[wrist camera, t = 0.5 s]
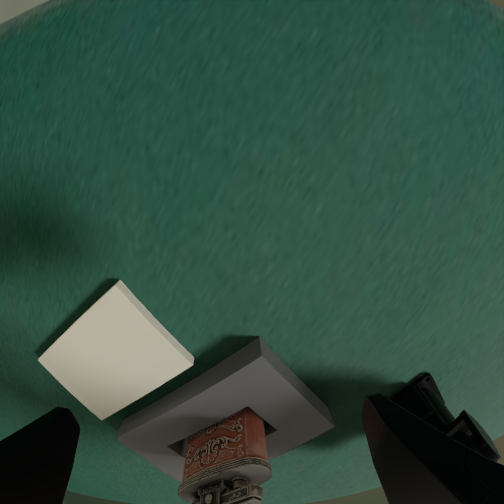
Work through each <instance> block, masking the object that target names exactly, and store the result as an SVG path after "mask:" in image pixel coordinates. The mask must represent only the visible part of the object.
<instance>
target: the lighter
mask: <svg viewBox="0 0 504 504" xmlns="http://www.w3.org/2000/svg"><path fill="white" fill-rule="evenodd" d="M187 439H188V443H187V450H186V457H185V464H184V471H183V478H182V483H181V484H180V485H179V489H178V496H179V497H180V498H182V499H183V500H185V501H188V502H191V503H192V504H260V503H261V502H262V501H263V489H262V487H261V486H259V485H261V484H262V483H264V482H266V481H267V480H269V479H270V478H271V476H272V471H271V465H270V463H269V462H268V459H267V449H266V440H265V430H264V420H263V418H262V417H260V416H259V415H258V414H257V413H256V412H254V411H253V410H252V409H251V408H250V407H248V406H247V407H245V408H243V409H242V410H240V411H238V412H236V413H234V414H232V415H230V416H229V417H227V418H225V419H223V420H221V421H219V422H217V423H215V424H213V425H211V426H209V427H207V428H205V429H203V430H201V431H199V432H197V433H195V434H193V435H190V436H188V437H187Z"/></svg>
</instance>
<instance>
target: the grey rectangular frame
mask: <svg viewBox="0 0 504 504" xmlns="http://www.w3.org/2000/svg"><path fill="white" fill-rule="evenodd" d="M247 406H248V407H250V408H251V409H252V410H253V411H254V412H256V413H257V414H258V415H259V416H260V417H262V418H263V420H264V430H265V440H266V449H267V459H268V461H269V460H271V459H273V458H275V457H277V456H280V455H282V454H284V453H286V452H288V451H290V450H292V449H294V448H296V447H298V446H300V445H302V444H304V443H306V442H308V441H310V440H312V439H313V438H315V437H317V436H319V435H321V434H323V433H324V432H326V431H328V430H330V429H331V428H333V427H335V426H334V423H333V420H332V418H331V415H330V412H329V409H328V407H327V406H326V405H325V404H324V403H323V402H322V401H321V400H320V399H319V398H318V397H317V396H316V395H315V394H314V393H313V392H312V391H311V390H310V389H309V388H308V387H307V386H306V385H305V384H304V383H303V382H302V381H301V380H300V379H299V378H298V377H297V375H296V374H295V373H294V372H293V371H292V370H291V369H290V368H289V367H288V366H287V365H286V364H285V363H284V362H283V361H282V360H281V359H280V358H279V357H278V356H277V355H276V354H275V352H274V351H273V350H272V349H271V348H270V347H269V346H268V345H267V344H266V343H265V342H264V341H263V340H262V339H261V338H260V336H259V337H258V338H256V339H255V340H253V341H252V342H250V343H249V344H247V345H246V346H244V347H243V348H241V349H240V350H238V351H237V352H235V353H234V354H232V355H231V356H229V357H228V358H226V359H224V360H223V361H221V362H220V363H218V364H217V365H215V366H213V367H212V368H210V369H209V370H207V371H205V372H204V373H202V374H201V375H199V376H197V377H196V378H194V379H192V380H191V381H189V382H188V383H186V384H184V385H183V386H181V387H179V388H178V389H176V390H174V391H173V392H171V393H169V394H167V395H166V396H164V397H162V398H161V399H159V400H157V401H155V402H154V403H152V404H150V405H148V406H147V407H145V408H143V409H141V410H140V411H138V412H136V413H134V414H132V415H131V416H129V417H127V418H125V419H123V420H122V422H121V425H120V428H119V430H118V433H117V435H116V439H117V440H119V441H120V442H121V443H123V444H124V445H125V446H127V447H128V448H129V449H131V450H132V451H134V452H135V453H136V454H138V455H139V456H141V457H142V458H144V459H145V460H147V461H148V462H150V463H151V464H153V465H154V466H156V467H157V468H159V469H160V470H162V471H164V472H165V473H167V474H168V475H170V476H172V477H173V478H175V479H177V480H178V481H180V482H182V478H183V471H184V464H185V457H186V450H187V443H188V439H187V438H186V437H188V436H190V435H193V434H195V433H197V432H199V431H201V430H203V429H205V428H207V427H209V426H211V425H213V424H215V423H217V422H219V421H221V420H223V419H225V418H227V417H229V416H230V415H232V414H234V413H236V412H238V411H240V410H242V409H243V408H245V407H247Z"/></svg>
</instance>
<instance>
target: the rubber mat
mask: <svg viewBox="0 0 504 504" xmlns="http://www.w3.org/2000/svg"><path fill="white" fill-rule="evenodd" d="M38 361H39V362H40V363H41V364H42V365H43V366H44V367H45V368H46V369H47V370H48V371H49V372H50V373H51V374H52V375H53V376H54V377H55V378H56V379H57V380H58V381H59V382H60V383H61V384H62V385H63V386H64V387H65V388H66V389H67V390H68V391H69V392H70V393H71V394H72V395H73V396H74V397H75V398H76V399H78V400H79V401H80V402H81V403H82V404H83V405H84V406H85V407H87V408H88V409H89V410H90V411H91V412H92V413H93V414H95V415H96V416H97V417H98V418H99V419H101V420H103V419H105V418H107V417H109V416H110V415H112V414H114V413H115V412H117V411H119V410H121V409H122V408H124V407H126V406H128V405H129V404H131V403H133V402H134V401H136V400H138V399H139V398H141V397H143V396H144V395H146V394H148V393H149V392H151V391H153V390H154V389H156V388H158V387H159V386H161V385H162V384H164V383H166V382H167V381H169V380H170V379H172V378H174V377H175V376H177V375H178V374H180V373H182V372H183V371H185V370H186V369H188V368H189V367H191V366H193V363H194V357H193V356H192V355H191V354H190V353H189V352H188V351H187V350H186V349H185V348H184V347H183V346H182V345H181V344H180V343H179V342H178V341H177V340H176V339H175V338H174V337H173V336H172V335H171V334H170V333H169V332H168V331H167V330H166V329H165V328H164V327H163V326H162V325H161V324H160V323H159V321H158V320H157V319H156V318H155V317H154V316H153V315H152V314H151V313H150V312H149V311H148V310H147V309H146V308H145V307H144V305H143V304H142V303H141V302H140V301H139V300H138V299H137V298H136V297H135V296H134V295H133V293H132V292H131V291H130V290H129V289H128V288H127V287H126V286H125V284H124V283H123V282H122V281H121V280H119V281H118V282H117V283H116V284H115V285H114V286H113V287H112V288H110V289H109V290H108V291H107V292H106V293H105V294H104V295H103V296H102V297H101V298H100V299H99V300H97V301H96V302H95V303H94V304H93V305H92V306H91V307H90V308H89V309H88V310H87V311H86V312H85V313H84V314H83V315H82V316H81V317H80V318H78V319H77V320H76V321H75V322H74V323H73V324H72V325H71V326H70V327H69V328H68V329H67V330H66V331H65V332H64V333H63V334H62V335H61V336H60V337H59V338H58V339H57V340H56V341H55V342H54V343H53V344H52V345H51V346H50V347H49V348H48V349H47V350H46V351H45V352H44V353H43V354H42V355H41V356H40V358H39V359H38Z"/></svg>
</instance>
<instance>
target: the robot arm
mask: <svg viewBox="0 0 504 504" xmlns="http://www.w3.org/2000/svg"><path fill="white" fill-rule="evenodd" d="M444 404H445V402H444V400H443V398H442V396H441V394H440V392H439V390H438V388H437V385H436V383H435V381H434V379H433V377H432V376H431V374H430V373H426V374H424V375H423V376H422V377H420V378H419V379H418V380H417V381H415V382H414V383H413V384H411V385H410V386H409V387H407V388H406V389H404V390H403V391H402V392H400V393H399V394H397V395H396V396H395V397H393V398H392V399H388V398H387V397H385V396H384V395H382V394H380V393H376V394H371V395H367V396H366V397H365V400H364V407H363V413H362V421H363V425H364V429H365V433H366V437H367V441H368V444H369V448H370V452H371V456H372V460H373V464H374V466H375V469H376V472H377V474H378V477H379V479H380V482H381V484H382V487H383V490H384V492H385V495H386V497H387V500H388V503H389V504H504V465H501V464H499V463H497V461H498V460H499V459H500V458H501V456H500V454H499V453H498V451H497V449H496V447H495V445H494V444H493V442H492V440H491V438H490V437H489V435H488V434H487V433H486V432H485V430H484V429H483V428H482V427H481V425H480V424H479V423H478V422H477V421H476V420H475V419H474V418H473V417H472V416H470V415H469V414H468V413H467V412H466V411H465V410H463V411H462V412H461V413H460V415H459V416H458V417H457V418H456V419H455V418H454V417H453V415H452V414H451V413H450V411H449V410H448V409H447V407H446V406H445V405H444ZM79 434H80V427H79V424H78V422H77V420H76V418H75V417H74V415H73V413H72V411H71V410H70V409H69V408H68V407H62V406H58V407H56V408H54V409H53V410H51V411H49V412H48V413H46V414H45V415H43V416H41V417H40V418H38V419H36V420H35V421H33V422H31V423H30V424H28V425H27V426H25V427H23V428H22V429H20V430H18V431H17V432H15V433H13V434H12V435H10V436H8V437H7V438H5V439H3V440H2V441H0V504H62V503H63V499H64V496H65V492H66V489H67V485H68V482H69V479H70V475H71V472H72V468H73V463H74V458H75V453H76V448H77V443H78V439H79Z"/></svg>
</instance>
